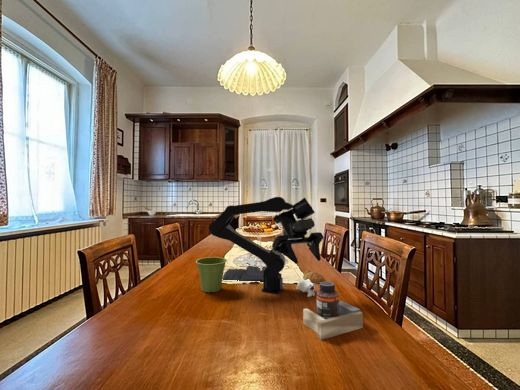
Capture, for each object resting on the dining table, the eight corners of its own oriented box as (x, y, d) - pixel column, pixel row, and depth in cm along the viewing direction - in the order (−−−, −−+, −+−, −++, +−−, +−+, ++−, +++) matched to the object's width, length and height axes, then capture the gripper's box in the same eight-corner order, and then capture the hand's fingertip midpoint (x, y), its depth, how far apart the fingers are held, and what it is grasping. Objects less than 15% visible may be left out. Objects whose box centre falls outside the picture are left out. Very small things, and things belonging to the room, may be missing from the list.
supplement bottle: (335, 320, 77) (334, 280, 77) (342, 330, 71) (342, 286, 71) (314, 320, 77) (314, 280, 77) (320, 330, 71) (319, 287, 71)
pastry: (329, 282, 112) (329, 273, 112) (318, 286, 108) (318, 276, 108) (311, 277, 119) (311, 269, 119) (301, 280, 115) (301, 271, 115)
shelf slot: (299, 324, 74) (299, 308, 74) (339, 314, 81) (339, 299, 81) (320, 340, 66) (320, 321, 66) (363, 327, 72) (363, 310, 72)
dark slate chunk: (227, 273, 129) (227, 263, 129) (274, 274, 127) (273, 263, 127) (219, 282, 114) (219, 271, 114) (272, 284, 112) (272, 272, 112)
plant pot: (189, 294, 99) (189, 263, 99) (204, 284, 111) (204, 256, 111) (220, 296, 96) (220, 264, 96) (231, 286, 108) (231, 257, 108)
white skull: (320, 299, 97) (305, 284, 106) (319, 282, 95) (304, 269, 104) (308, 303, 96) (294, 288, 105) (307, 286, 94) (293, 272, 103)
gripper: (275, 211, 91) (294, 249, 81) (320, 210, 99) (342, 244, 89) (265, 232, 98) (281, 270, 88) (307, 229, 106) (326, 263, 96)
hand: (308, 261), depth 90 cm, fingers open, 9 cm apart
